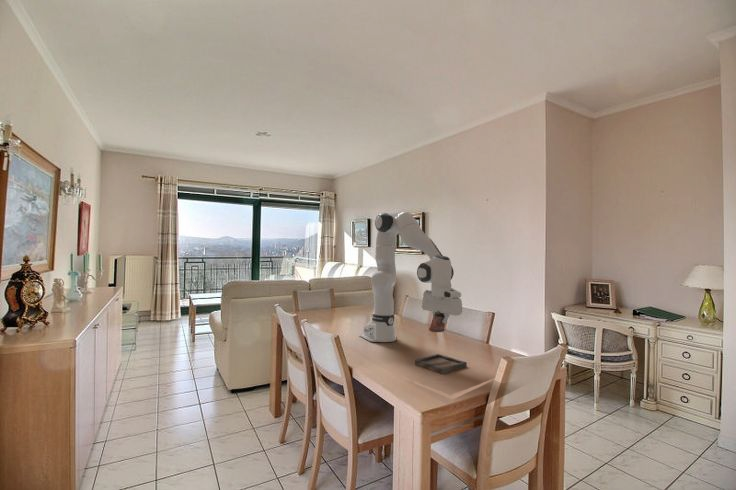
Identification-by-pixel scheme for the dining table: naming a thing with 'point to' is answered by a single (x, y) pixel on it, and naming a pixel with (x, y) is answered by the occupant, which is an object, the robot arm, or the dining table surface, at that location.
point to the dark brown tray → (440, 363)
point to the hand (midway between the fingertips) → (440, 322)
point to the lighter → (437, 323)
